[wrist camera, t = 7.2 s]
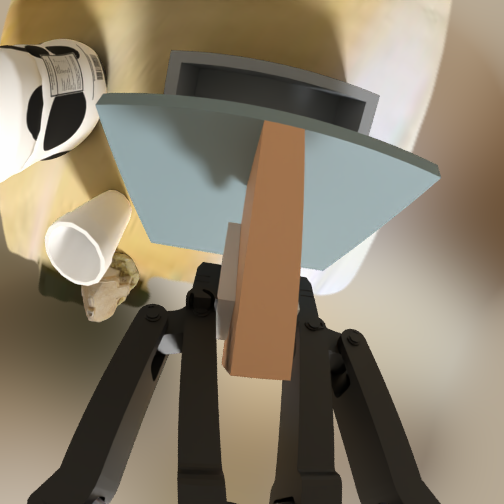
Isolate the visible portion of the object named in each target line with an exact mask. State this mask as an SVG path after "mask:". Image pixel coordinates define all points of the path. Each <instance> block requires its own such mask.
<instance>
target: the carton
mask: <svg viewBox="0 0 504 504" xmlns="http://www.w3.org/2000/svg"><path fill="white" fill-rule="evenodd" d="M164 94H168V95H181V96H192V97H201V98H210V99H218V100H225V101H231V102H238V103H244V104H249V105H255V106H260V107H265V108H270V109H275V110H279V111H284V112H288V113H292V114H296V115H300V116H304V117H308V118H312V119H316V120H319V121H323V122H326V123H330V124H333V125H336V126H340V127H343V128H346V129H349V130H352V131H355V132H358V133H361V134H364V135H367V136H368V135H369V132H370V129H371V125H372V122H373V118H374V115H375V111H376V108H377V104H378V100H379V97H380V95H377V94H375V93H372V92H370V91H367V90H365V89H362V88H360V87H357V86H354V85H351V84H349V83H346V82H343V81H340V80H337V79H334V78H331V77H327V76H324V75H321V74H317V73H314V72H310V71H307V70H303V69H299V68H295V67H291V66H287V65H283V64H278V63H273V62H269V61H264V60H258V59H253V58H247V57H240V56H233V55H226V54H217V53H207V52H195V51H177V50H171V54H170V59H169V64H168V70H167V76H166V82H165V88H164Z"/></svg>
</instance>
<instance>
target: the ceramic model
mask: <svg viewBox="0 0 504 504" xmlns="http://www.w3.org/2000/svg"><path fill="white" fill-rule="evenodd" d="M138 280H139V273H138V271H137V269H136V267H135V264H134V262H133V261H132V259H131V258H129V256H127V255H126V254H119V253H115V252H114V255H113V257H112V263H111V264H110V266H109V268H108V269H107V271H106V272H105V274H104V275H103V277H102V278H101V280H100V281H99V282H98V283H96V284H92V285H89V286H86V285H82V295H83V302H84V308H85V311H86V315H87V317H88V320H89V321H96V322H101V321H103V320H106V319H108V318H109V317H111V316H112V315H113V314H114V311H115V309H116V307H117V305H120V304H121V303H122V302H123V301H124V300H125V299H126V296H127V295H128V294H129V293H130V290H131V289H132V288H134V287H135V286H136V284H137V282H138Z"/></svg>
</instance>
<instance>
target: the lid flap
mask: <svg viewBox="0 0 504 504" xmlns="http://www.w3.org/2000/svg"><path fill="white" fill-rule="evenodd" d="M95 106H96V109H97V112H98V115H99V118H100V121H101V124H102V126H103V129H104V132H105V135H106V138H107V140H108V143H109V146H110V148H111V151H112V154H113V156H114V159H115V161H116V164H117V166H118V169H119V171H120V174H121V176H122V179H123V181H124V184H125V186H126V188H127V191H128V193H129V195H130V198H131V200H132V202H133V204H134V207H135V209H136V211H137V213H138V216H139V218H140V220H141V222H142V224H143V226H144V229H145V231H146V233H147V235H148V237H149V239H150V241H151V243H156V244H162V245H168V246H174V247H180V248H186V249H192V250H198V251H204V252H210V253H216V254H222V255H223V252H224V246H225V240H226V234H227V229H228V223H229V222H233V223H239V224H241V231H240V244H239V257H238V270H237V283H236V297H235V305H234V309H233V314H232V318H231V323H230V327H229V332H228V337H227V340H225V342H224V349H223V357H222V365H223V367H224V368H225V369H226V370H227V372H228V373H229V374H230V375H231V376H240V377H250V378H260V379H273V380H288V381H290V379H291V371H292V362H293V352H294V343H295V332H296V322H297V310H298V298H299V284H300V269H301V267H302V268H309V269H315V270H321V271H323V270H325V269H326V268H327V267H329V266H330V265H332V264H333V263H334V262H336V261H337V260H338V259H340V258H341V257H342V256H344V255H345V254H347V253H348V252H349V251H351V250H352V249H353V248H355V247H356V246H357V245H359V244H360V243H361V242H362V241H364V240H365V239H366V238H368V237H369V236H370V235H372V234H373V233H374V232H375V231H377V230H378V229H379V228H381V227H382V226H383V225H384V224H386V223H387V222H388V221H390V220H391V219H392V218H393V217H395V216H396V215H397V214H398V213H399V212H401V211H402V210H403V209H404V208H406V207H407V206H408V205H409V204H411V203H412V202H413V201H414V200H415V199H416V198H418V197H419V196H420V195H421V194H423V193H424V192H425V191H426V190H427V189H428V188H430V187H431V186H432V185H433V184H434V183H435V182H437V181H438V180H439V179H440V178H441V175H440V172H439V169H438V165H436V164H434V163H432V162H430V161H428V160H426V159H424V158H421V157H419V156H417V155H414V154H413V153H410V152H408V151H405V150H403V149H401V148H398V147H396V146H393V145H391V144H388V143H386V142H383V141H380V140H378V139H375V138H372V137H370V136H367V135H364V134H361V133H358V132H355V131H352V130H349V129H346V128H343V127H340V126H336V125H333V124H330V123H326V122H323V121H319V120H316V119H312V118H308V117H304V116H300V115H296V114H292V113H288V112H284V111H279V110H275V109H270V108H265V107H260V106H255V105H249V104H244V103H238V102H231V101H225V100H218V99H210V98H201V97H192V96H181V95H168V94H147V93H103V94H102V96H101V97H100V99H99V100H98V102H97V103H96V104H95Z"/></svg>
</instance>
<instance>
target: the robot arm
mask: <svg viewBox="0 0 504 504" xmlns="http://www.w3.org/2000/svg"><path fill="white" fill-rule="evenodd" d="M240 231H241V224H239V223H233V222H229V223H228V229H227V234H226V240H225V246H224V252H223V259H222V265H219V264H212V263H206V262H203V263H202V264H201V265H200V266H199V267H198V268H197V272H196V276H195V280H194V284H193V288H192V289H191V290H190V291H188V293H187V295H186V306H185V307H184V308H182V309H180V310H175V311H166V310H165V308H164V307H162V306H160V305H156V304H149V305H146V306H143V307H142V308H141V309H140V310H139V312H138V313H137V315H136V317H135V318H134V320H133V322H132V323H131V325H130V327H129V329H128V330H127V332H126V334H125V336H124V337H123V339H122V341H121V343H120V345H119V346H118V348H117V350H116V352H115V354H114V356H113V357H112V359H111V361H110V363H109V365H108V367H107V369H106V370H105V372H104V374H103V376H102V378H101V380H100V382H99V384H98V386H97V388H96V390H95V392H94V394H93V396H92V398H91V400H90V402H89V404H88V406H87V408H86V410H85V412H84V414H83V416H82V419H81V421H80V423H79V426H78V427H77V429H76V431H75V434H74V436H73V438H72V440H71V443H70V445H69V447H68V450H67V452H66V455H65V457H64V459H63V461H62V464H61V466H60V468H59V469H58V470H57V471H56V472H55V473H54V474H53V475H52V476H51V477H50V478H49V479H48V480H46V481H45V482H44V483H43V484H42V485H41V486H40V487H39V488H38V489H37V490H36V491H35V492H33V493H32V494H31V495H30V497H29V499H28V500H27V501H28V502H27V504H109V503H110V501H111V500H112V498H113V497H114V495H115V493H116V491H117V489H118V486H119V484H120V481H121V478H122V476H123V473H124V470H125V467H126V464H127V461H128V459H129V456H130V453H131V450H132V447H133V445H134V442H135V439H136V437H137V434H138V431H139V429H140V426H141V423H142V421H143V418H144V415H145V413H146V410H147V408H148V405H149V403H150V400H151V398H152V395H153V392H154V390H155V387H156V385H157V382H158V380H159V377H160V375H161V373H162V370H163V368H164V365H165V363H166V360H167V358H168V356H169V354H175V353H182V360H181V375H180V395H179V421H178V478H177V481H178V504H236V503H232V502H227V501H226V500H227V499H226V488H225V479H224V474H223V471H222V464H221V448H220V430H219V412H218V411H219V410H218V385H217V352H216V351H217V350H216V348H217V347H216V339H221V340H227V337H228V332H229V327H230V323H231V318H232V314H233V309H234V305H235V297H236V283H237V270H238V257H239V244H240ZM312 291H313V290H312V286H311V283H310V282H309V281H308V279H307V278H306V277H300V284H299V298H298V310H297V322H296V332H295V343H294V352H293V362H292V371H291V379H290V381H288V380H282V396H281V412H280V427H279V442H278V453H277V465H276V476H275V481H274V484H273V486H272V489H271V493H270V502H269V504H342V481H341V477H340V475H339V474H338V473H337V472H336V471H335V468H334V426H333V410H334V413H335V417H336V419H337V423H338V427H339V430H340V433H341V437H342V440H343V443H344V446H345V450H346V454H347V457H348V461H349V464H350V468H351V471H352V475H353V479H354V482H355V486H356V489H357V493H358V496H359V499H360V502H361V504H440V503H439V501H438V500H437V499H436V498H435V496H434V495H433V494H432V492H431V491H430V490H429V489H428V487H427V486H426V485H425V483H424V482H423V481H422V480H421V477H420V474H419V470H418V468H417V465H416V462H415V459H414V456H413V453H412V450H411V447H410V445H409V442H408V439H407V436H406V434H405V431H404V429H403V426H402V423H401V421H400V418H399V416H398V413H397V411H396V408H395V406H394V403H393V401H392V398H391V396H390V394H389V391H388V389H387V387H386V384H385V382H384V379H383V377H382V375H381V372H380V370H379V368H378V366H377V363H376V361H375V359H374V357H373V355H372V352H371V350H370V349H369V346H368V344H367V342H366V339H365V338H364V336H363V335H362V334H361V333H360V332H359V331H356V330H354V329H347V330H345V331H343V332H342V334H341V333H338V332H335V331H332V330H330V329H328V328H326V326H325V323H324V322H323V321H322V319H320V318H319V317H318V312H317V308H316V304H315V299H314V295H313V292H312Z"/></svg>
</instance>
